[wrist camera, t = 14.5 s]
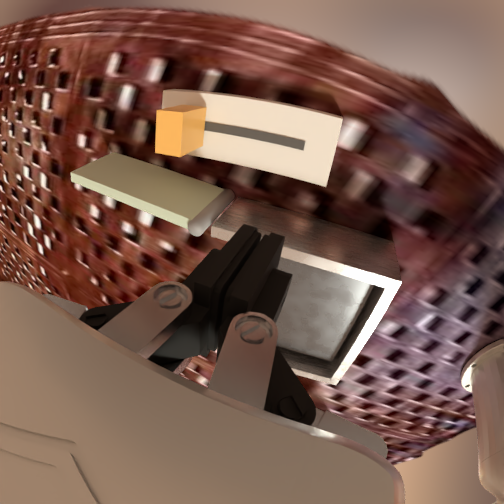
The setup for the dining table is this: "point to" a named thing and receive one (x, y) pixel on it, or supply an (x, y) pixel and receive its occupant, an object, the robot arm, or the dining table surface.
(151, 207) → the door
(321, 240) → the grey open tray
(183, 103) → the fader panel
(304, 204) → the dining table surface
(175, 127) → the fader knob
